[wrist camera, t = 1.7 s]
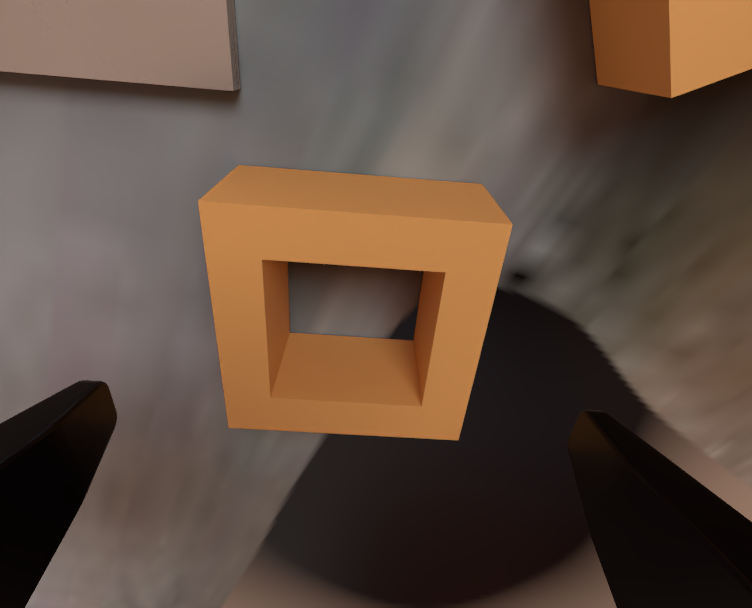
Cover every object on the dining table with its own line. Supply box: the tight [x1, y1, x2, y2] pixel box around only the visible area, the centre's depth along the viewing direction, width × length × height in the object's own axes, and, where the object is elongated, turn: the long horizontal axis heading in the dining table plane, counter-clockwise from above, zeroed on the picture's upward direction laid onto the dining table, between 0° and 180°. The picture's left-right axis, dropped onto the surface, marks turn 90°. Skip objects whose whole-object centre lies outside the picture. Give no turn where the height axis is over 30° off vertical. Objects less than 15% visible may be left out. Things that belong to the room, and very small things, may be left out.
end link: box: [198, 165, 513, 440], centre depth 12 cm, size 6×6×3 cm
